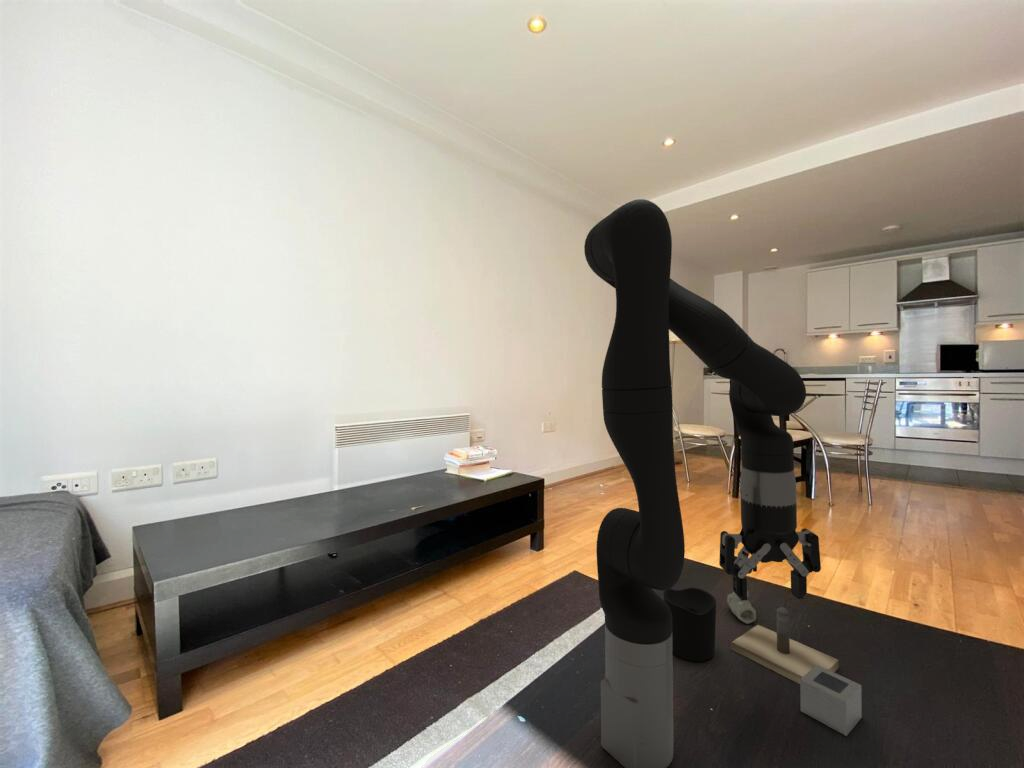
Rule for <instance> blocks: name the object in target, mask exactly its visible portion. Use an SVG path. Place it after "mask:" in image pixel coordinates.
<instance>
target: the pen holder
mask: <svg viewBox="0 0 1024 768" xmlns="http://www.w3.org/2000/svg"><path fill="white" fill-rule="evenodd" d="M662 596H663V601H664V602H665V603H666V604H667V605H668V607H669V609H670V611H671V614H672V644H673V652H672V654H674V655H675V656H676V657H677V658H679V659H683V660H685V661H690V662H698V663H699V662H701V663H702V662H706V661H708V660H710V659H711V658H713V656H714V654H715V644H716V621H717V620H716V618H717V614H716V613H717V600H716V598H715V597H714V596H713V595H712V594H711V593H709V592H708V591H706V590H704V589H701V588H698V587H687V588H683V589H672V588H670V589H668V590H663V595H662Z"/></svg>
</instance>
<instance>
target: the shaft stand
mask: <svg viewBox="0 0 1024 768" xmlns="http://www.w3.org/2000/svg"><path fill="white" fill-rule="evenodd" d="M731 651H733V652H736V653H737V654H739V655H741V656H743V657H745V658H747V659H749V660H751V661H753V662H755V663H757V664H759V665H762V666H763V667H765V668H767V669H769V670H771V671H773V672H775V673H777V674H779V675H781V676H783V677H784V678H787V679H789V680H791V681H793V682H795V684H798V685H800V679H801V678H802V677H803V676H805V675H806V674H807V673H808V672H809V671H810V670H811V669H812V668H813V667H815V666H816V665H819V666H821V667H823V668H825V669H827V670H830V671H832V672H834V673H836V671H837V670H839V668H840V667H839V665H840V664H839V663H840V661H839V658H835V657H833V656H831V655H828V654H826V653H823V652H822V651H819V650H817V649H815V648H812V647H811V646H810V647H809V646H808V645H805V644H803V643H801V642H799V641H796V640H794V639H791V637H790V612H789V610H788V609H787V608H786V607H784V606H779V607H778V608H776V631H773V630H771V629H769V628H766V627H765V626H762V625H759V624H757V625H755V626H753V627H752V628H750V629H749V630H748V631H746V632H745V633H743V634H742V635H740V636H739V637H737V638H736V639H734V640H733V641H731Z"/></svg>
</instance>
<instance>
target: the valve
mask: <svg viewBox="0 0 1024 768" xmlns="http://www.w3.org/2000/svg"><path fill="white" fill-rule="evenodd" d="M737 557H738V555H737V556H736V555H734V561H735V560H736V559H737ZM752 572H755V573H756V572H758V564H757V565H756V567H755V568H752V569H751V570H750V571H749V572H748V574H751V573H752ZM748 574H747V575H748ZM732 591H733V590H732ZM749 597H750V594H749V591H748V590H747V600H743V601H742V600H741V599H740V598H739V597H738V596H737V595H736V594H735V592H734V591H733V592H731V593H729V594H728V595H727V597H726V601H727V605H728V606H729V608H730V610H731V612H732V613H733V614H734V616H736V617H737V618H738V620H740V621H741V622H743V623H745V624H746V625H749V624H751V623H753V622H756V620H757V613H756V612H757V611H756V610H755V608H754V607H752V604H751V602H750V601H749V600H748V598H749Z"/></svg>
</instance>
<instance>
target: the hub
mask: <svg viewBox="0 0 1024 768" xmlns="http://www.w3.org/2000/svg"><path fill="white" fill-rule="evenodd" d="M799 686H800V698H799V699H800V712H801V713H803V714H806V715H807V716H809V717H811V718H812V719H814V720H816V721H818V722H820V723H822V724H824V725H825V726H827V727H829V728H830V729H833V730H834V731H836V732H838V733H840V734H842V735H843V736H845V737H848V735H849V734H850V732H851V731H852V730H853V729H854V728H855V726H856V725H857V724H858V723H859V721H860V720H861V719H862V717H863V716H862V709H863V708H862V707H863V706H862V702H863V701H862V700H863V699H862V684H860V683H858V682H856V681H853V680H851V679H850V678H846V677H844V676H843V675H840V674H838V673H837V672H832V671H830V670H827V669H825V668H823V667H821V666H819V665H816V666H815V667H813V668H812V669H811V670H810V671H809V672H808V673H807V674H806V675H805V676H803V677H802V678H801V679H800V684H799Z"/></svg>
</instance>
